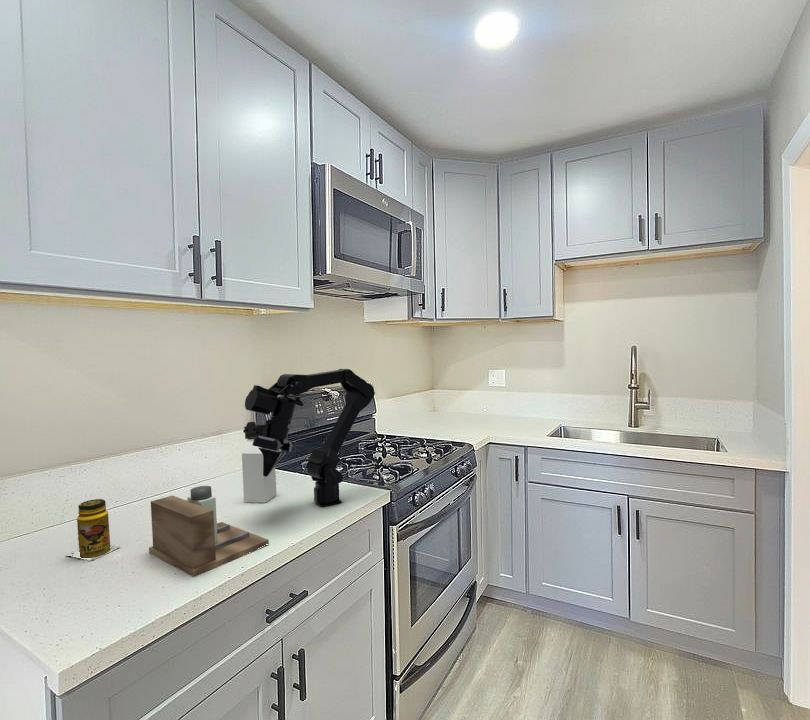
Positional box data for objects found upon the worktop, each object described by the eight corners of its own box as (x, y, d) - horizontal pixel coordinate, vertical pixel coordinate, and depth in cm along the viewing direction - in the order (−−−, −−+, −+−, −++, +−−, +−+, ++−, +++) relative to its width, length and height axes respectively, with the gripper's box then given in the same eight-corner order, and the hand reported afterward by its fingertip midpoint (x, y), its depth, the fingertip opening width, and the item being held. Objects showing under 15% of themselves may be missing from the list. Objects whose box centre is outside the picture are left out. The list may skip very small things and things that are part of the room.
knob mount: (221, 526, 123) (219, 481, 123) (268, 544, 111) (266, 494, 110) (149, 552, 109) (146, 501, 108) (193, 576, 96) (190, 519, 96)
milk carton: (265, 503, 140) (262, 440, 139) (243, 502, 141) (240, 439, 140) (276, 495, 147) (274, 435, 146) (255, 494, 148) (253, 435, 147)
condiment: (90, 561, 105) (87, 508, 104) (65, 556, 108) (61, 505, 108) (120, 548, 112) (117, 498, 111) (96, 543, 115) (93, 494, 114)
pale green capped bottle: (205, 538, 112) (203, 484, 112) (219, 544, 108) (216, 488, 108) (187, 544, 109) (184, 489, 108) (201, 551, 105) (198, 493, 104)
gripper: (262, 415, 138) (246, 468, 134) (241, 408, 119) (223, 470, 116) (298, 423, 137) (284, 477, 134) (284, 418, 119) (267, 480, 116)
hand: (265, 476), depth 125 cm, fingers closed
